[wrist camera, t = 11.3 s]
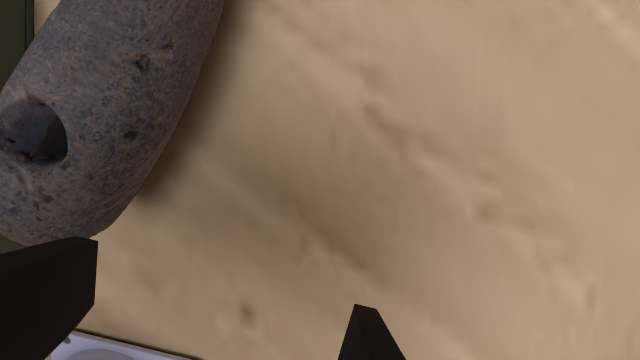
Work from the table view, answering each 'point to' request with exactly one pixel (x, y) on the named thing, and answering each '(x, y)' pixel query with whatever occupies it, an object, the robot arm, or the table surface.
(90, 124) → the perforated stone tool
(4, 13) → the dish
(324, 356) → the table surface
